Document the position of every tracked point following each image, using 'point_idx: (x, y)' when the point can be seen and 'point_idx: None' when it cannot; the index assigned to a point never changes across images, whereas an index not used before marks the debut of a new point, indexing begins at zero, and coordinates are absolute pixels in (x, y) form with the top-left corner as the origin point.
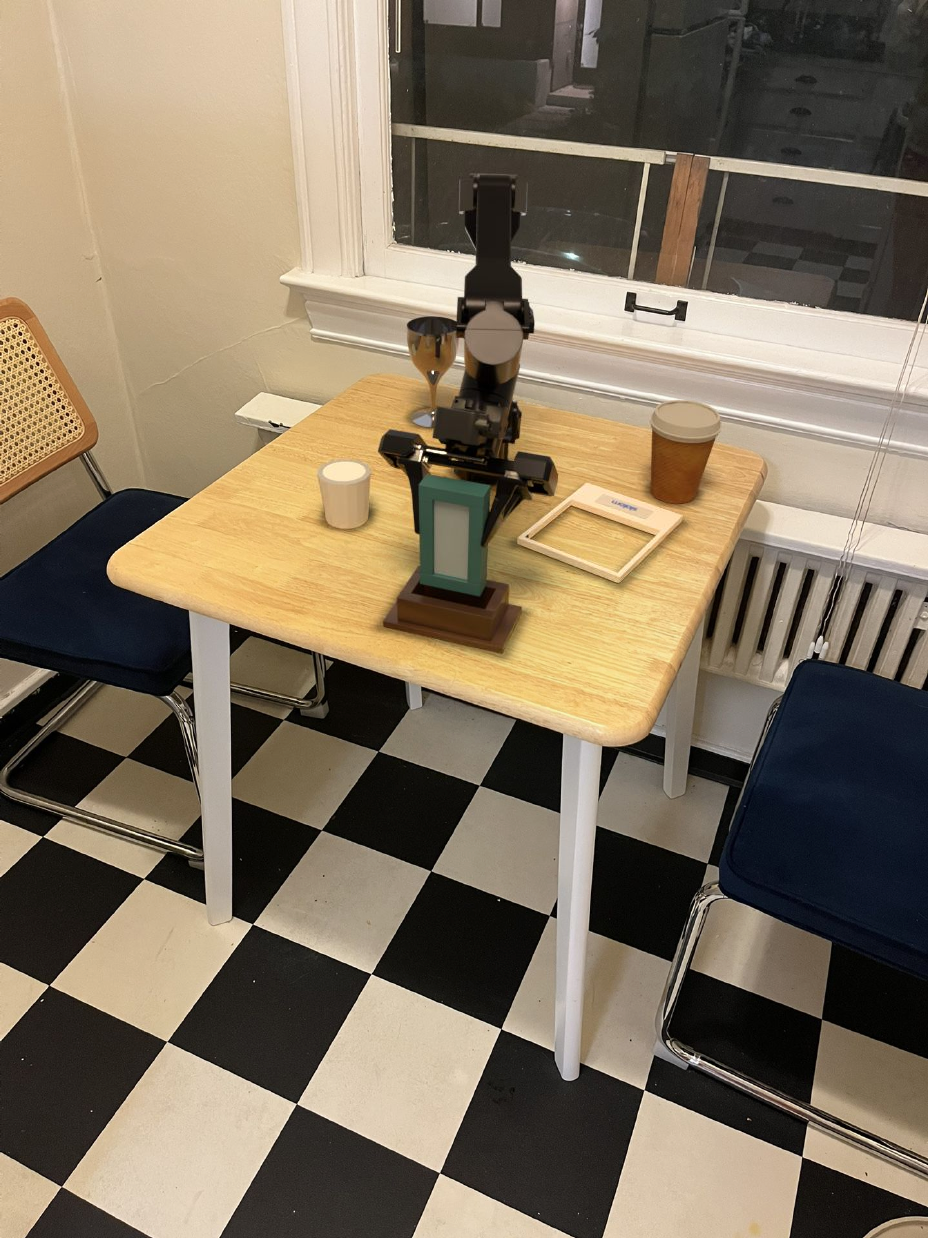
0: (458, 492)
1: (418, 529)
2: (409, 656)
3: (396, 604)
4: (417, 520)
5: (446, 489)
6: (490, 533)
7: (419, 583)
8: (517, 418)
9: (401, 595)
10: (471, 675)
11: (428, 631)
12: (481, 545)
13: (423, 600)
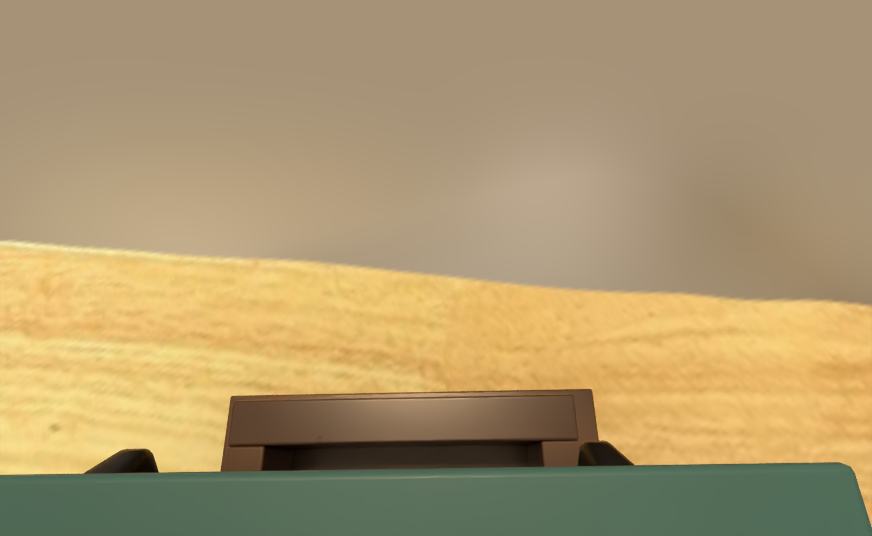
0: (47, 474)
1: (586, 448)
2: (466, 303)
3: None
4: None
5: (285, 495)
6: None
7: None
8: None
9: (565, 411)
10: (299, 292)
11: (450, 392)
12: (146, 452)
13: (482, 413)
